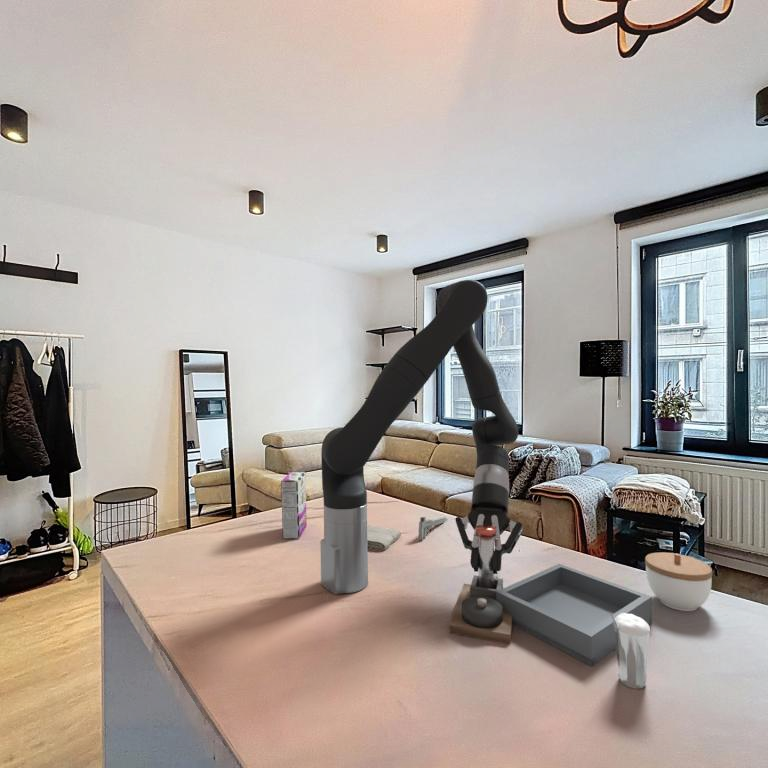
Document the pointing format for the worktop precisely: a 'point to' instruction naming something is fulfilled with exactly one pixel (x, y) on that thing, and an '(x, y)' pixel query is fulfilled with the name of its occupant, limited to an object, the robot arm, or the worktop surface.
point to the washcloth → (381, 537)
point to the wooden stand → (481, 613)
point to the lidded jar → (678, 580)
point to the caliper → (428, 525)
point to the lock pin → (486, 555)
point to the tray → (572, 610)
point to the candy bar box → (293, 505)
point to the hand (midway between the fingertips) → (485, 570)
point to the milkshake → (632, 649)
